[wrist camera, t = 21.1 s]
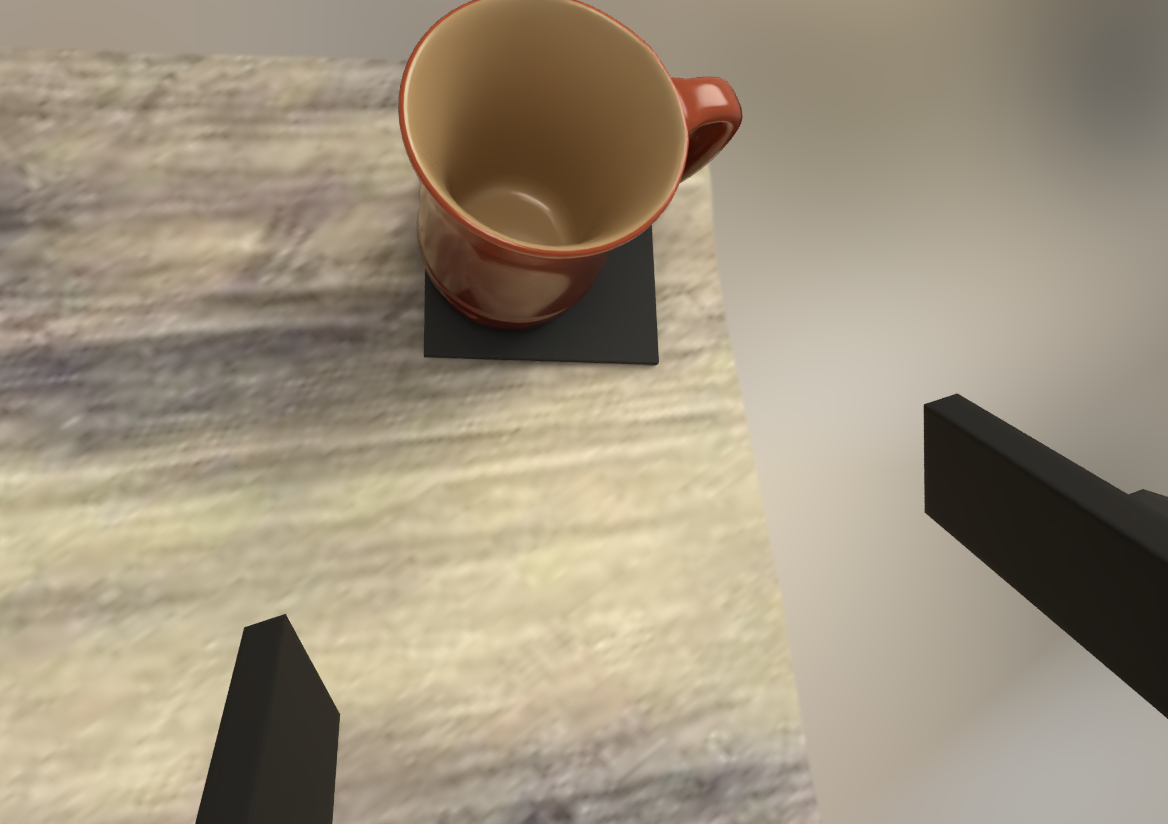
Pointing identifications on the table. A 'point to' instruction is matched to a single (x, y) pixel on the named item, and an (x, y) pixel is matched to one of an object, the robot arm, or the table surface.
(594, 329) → the mat
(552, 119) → the mug
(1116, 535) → the robot arm
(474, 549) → the table surface
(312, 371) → the table surface
